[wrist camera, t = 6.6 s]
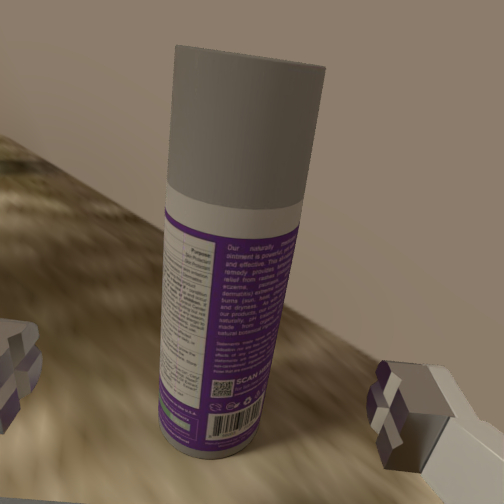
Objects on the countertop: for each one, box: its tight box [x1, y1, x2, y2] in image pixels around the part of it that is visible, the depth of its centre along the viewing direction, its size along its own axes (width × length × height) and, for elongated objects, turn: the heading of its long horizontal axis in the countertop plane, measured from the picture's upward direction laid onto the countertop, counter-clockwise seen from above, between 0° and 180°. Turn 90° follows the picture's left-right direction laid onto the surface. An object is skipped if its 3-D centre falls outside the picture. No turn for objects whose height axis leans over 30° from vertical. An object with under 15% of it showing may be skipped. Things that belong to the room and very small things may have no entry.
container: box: [158, 45, 326, 459], centre depth 15 cm, size 5×5×15 cm
